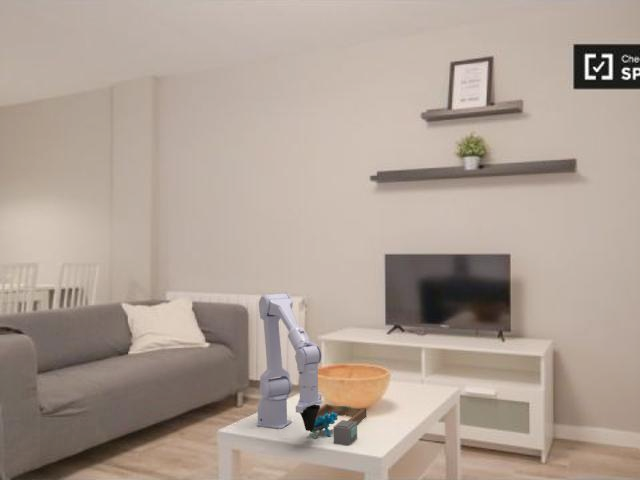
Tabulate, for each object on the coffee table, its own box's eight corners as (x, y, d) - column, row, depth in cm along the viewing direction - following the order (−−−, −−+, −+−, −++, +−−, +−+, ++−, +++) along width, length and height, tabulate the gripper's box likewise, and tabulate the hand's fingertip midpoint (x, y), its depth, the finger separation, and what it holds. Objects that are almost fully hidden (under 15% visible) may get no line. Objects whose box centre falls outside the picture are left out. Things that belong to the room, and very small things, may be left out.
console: (333, 443, 173) (333, 426, 173) (342, 436, 180) (341, 419, 180) (349, 445, 171) (349, 428, 171) (357, 438, 177) (357, 421, 177)
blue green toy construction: (332, 422, 188) (339, 406, 182) (340, 438, 185) (347, 423, 178) (302, 432, 184) (307, 416, 177) (309, 448, 180) (315, 433, 173)
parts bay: (307, 425, 191) (307, 415, 191) (325, 412, 205) (325, 403, 205) (351, 430, 185) (350, 420, 185) (366, 417, 199) (366, 407, 199)
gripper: (310, 392, 166) (311, 439, 166) (330, 381, 179) (330, 424, 179) (289, 390, 169) (289, 436, 169) (309, 379, 182) (310, 421, 182)
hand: (309, 430), depth 174 cm, fingers closed
